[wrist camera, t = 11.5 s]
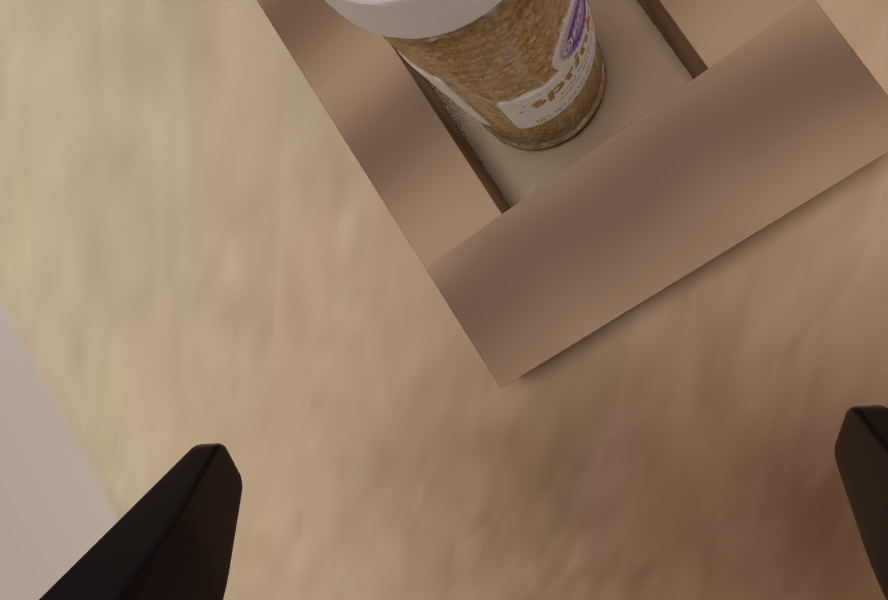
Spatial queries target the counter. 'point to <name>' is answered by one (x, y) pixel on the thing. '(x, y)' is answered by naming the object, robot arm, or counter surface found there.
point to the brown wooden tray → (601, 166)
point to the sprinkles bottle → (499, 59)
